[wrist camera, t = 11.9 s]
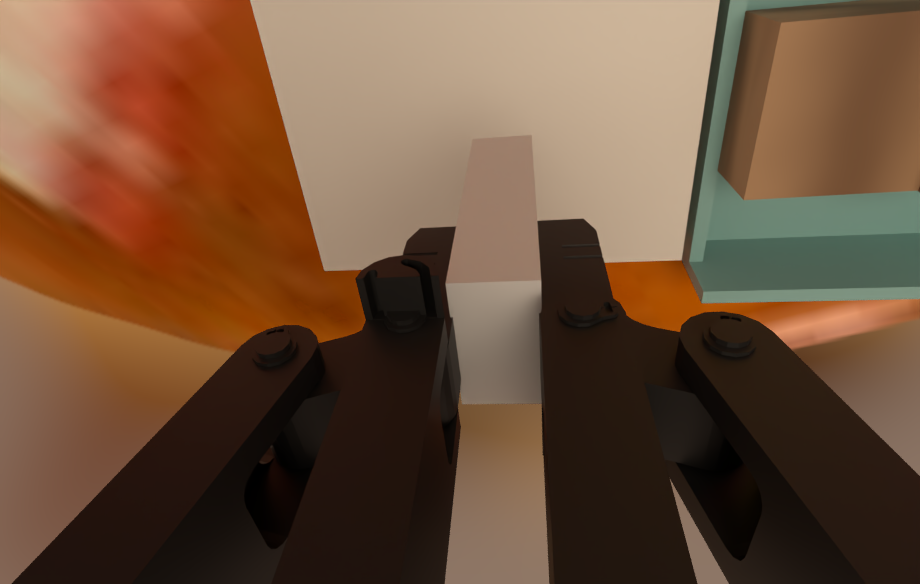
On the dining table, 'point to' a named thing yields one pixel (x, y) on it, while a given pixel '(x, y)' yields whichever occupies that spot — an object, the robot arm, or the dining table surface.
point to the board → (490, 112)
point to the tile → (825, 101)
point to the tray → (789, 217)
